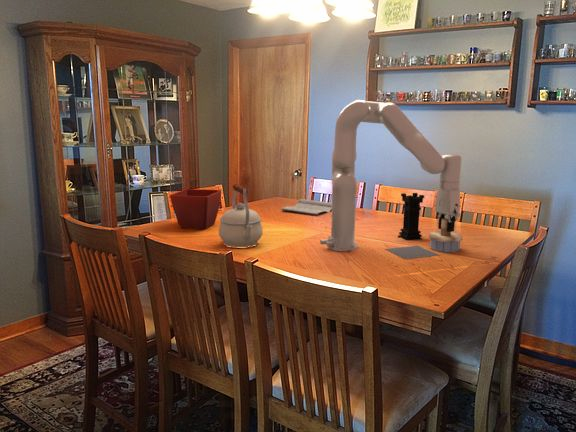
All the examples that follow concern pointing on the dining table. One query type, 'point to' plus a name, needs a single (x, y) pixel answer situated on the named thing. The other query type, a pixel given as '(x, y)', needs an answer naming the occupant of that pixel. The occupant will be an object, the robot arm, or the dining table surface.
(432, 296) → the dining table surface
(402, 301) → the dining table surface
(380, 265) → the dining table surface
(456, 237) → the lid
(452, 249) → the bowl
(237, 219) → the kettle
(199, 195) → the plant pot
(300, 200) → the mat
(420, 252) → the rubber mat
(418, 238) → the chess piece
